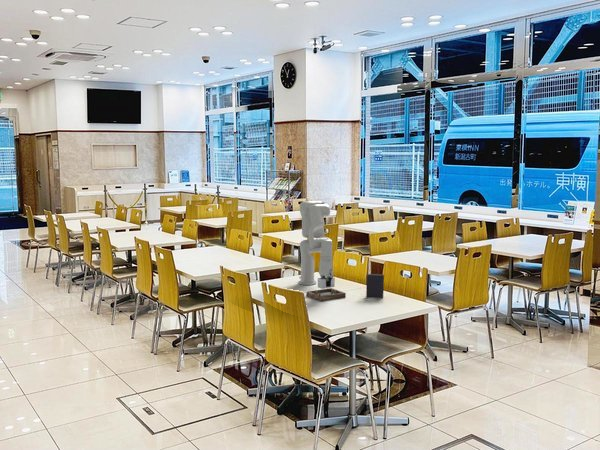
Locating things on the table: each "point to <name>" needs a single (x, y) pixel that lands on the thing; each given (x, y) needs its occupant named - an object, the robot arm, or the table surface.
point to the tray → (325, 294)
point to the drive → (325, 282)
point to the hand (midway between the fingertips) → (326, 285)
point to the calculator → (375, 285)
